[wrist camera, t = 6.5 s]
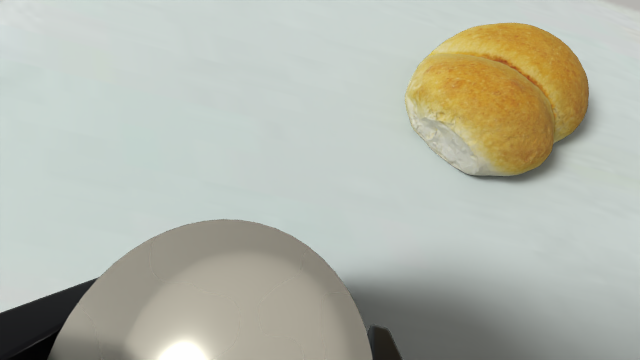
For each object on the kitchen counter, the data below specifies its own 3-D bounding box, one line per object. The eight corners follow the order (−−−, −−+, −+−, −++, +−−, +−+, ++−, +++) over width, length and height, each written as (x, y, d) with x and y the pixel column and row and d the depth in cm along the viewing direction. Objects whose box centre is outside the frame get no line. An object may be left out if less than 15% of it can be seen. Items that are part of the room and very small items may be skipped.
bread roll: (590, 109, 19) (654, 59, 16) (492, 209, 17) (540, 178, 13) (474, 28, 22) (506, -33, 18) (375, 105, 19) (388, 55, 16)
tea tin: (242, 444, 13) (52, 726, 4) (204, 312, 15) (17, 291, 6) (362, 381, 14) (441, 492, 5) (312, 264, 16) (298, 177, 7)
